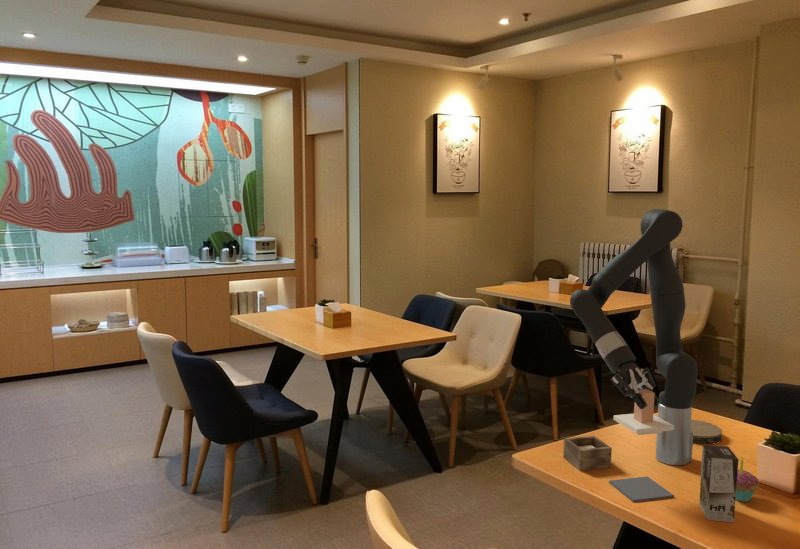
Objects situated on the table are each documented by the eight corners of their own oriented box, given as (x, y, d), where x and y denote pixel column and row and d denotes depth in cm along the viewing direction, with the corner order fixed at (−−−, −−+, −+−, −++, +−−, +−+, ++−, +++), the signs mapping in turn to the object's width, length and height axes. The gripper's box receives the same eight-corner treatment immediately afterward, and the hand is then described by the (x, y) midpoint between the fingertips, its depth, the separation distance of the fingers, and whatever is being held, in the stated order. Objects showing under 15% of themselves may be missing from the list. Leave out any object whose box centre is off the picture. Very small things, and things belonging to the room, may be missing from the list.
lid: (649, 420, 187) (650, 384, 186) (673, 434, 176) (675, 396, 175) (613, 423, 185) (614, 386, 183) (636, 438, 174) (638, 399, 173)
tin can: (687, 424, 234) (688, 416, 234) (731, 438, 221) (732, 430, 220) (659, 433, 225) (659, 425, 225) (703, 449, 212) (703, 439, 212)
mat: (647, 478, 190) (647, 476, 190) (673, 497, 178) (674, 495, 178) (608, 482, 187) (608, 480, 187) (633, 502, 175) (633, 499, 175)
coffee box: (735, 523, 165) (739, 459, 163) (706, 520, 166) (710, 457, 164) (725, 505, 173) (729, 445, 171) (698, 503, 175) (702, 443, 173)
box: (593, 454, 207) (594, 435, 206) (610, 467, 197) (611, 447, 196) (563, 457, 204) (564, 438, 204) (579, 470, 195) (580, 450, 194)
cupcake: (756, 507, 172) (759, 463, 171) (720, 499, 177) (723, 455, 175) (759, 495, 180) (762, 451, 178) (724, 487, 184) (727, 445, 183)
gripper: (605, 347, 180) (642, 403, 172) (640, 341, 188) (676, 394, 179) (589, 362, 185) (624, 417, 177) (623, 355, 193) (658, 408, 184)
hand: (650, 405), depth 178 cm, fingers closed on lid, 4 cm apart
